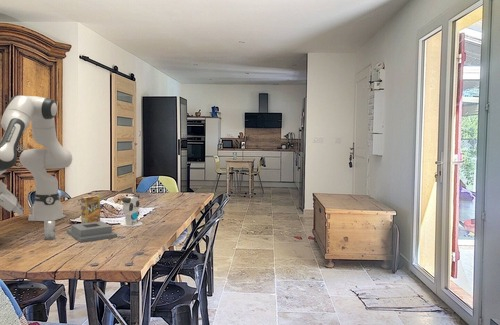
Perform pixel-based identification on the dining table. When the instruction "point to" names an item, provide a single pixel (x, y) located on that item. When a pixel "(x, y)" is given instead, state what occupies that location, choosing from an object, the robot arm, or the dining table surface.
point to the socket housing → (91, 231)
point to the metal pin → (49, 229)
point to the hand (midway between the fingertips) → (22, 212)
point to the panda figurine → (131, 211)
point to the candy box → (90, 209)
